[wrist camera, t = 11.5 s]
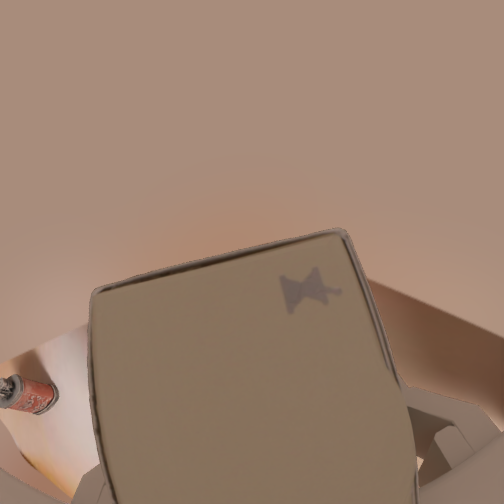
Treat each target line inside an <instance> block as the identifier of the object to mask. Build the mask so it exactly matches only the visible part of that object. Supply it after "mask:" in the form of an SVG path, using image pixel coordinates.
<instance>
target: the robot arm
mask: <svg viewBox="0 0 504 504" xmlns="http://www.w3.org/2000/svg"><path fill="white" fill-rule="evenodd" d="M398 376H399V374H398ZM399 380H400V383H401V387H402V390H403V394H404V398H405V401H406V405H407V409H408V413H409V416H410V420H411V424H412V429H413V436H414V442H415V449H416V456H418V457H420V458H422V459H424V461H423V463H422V465H421V467H420V469H419V471H418V484H419V487H420V488H419V491H420V504H504V431H503V432H501V431H500V430H499V429H498V428H497V426H496V425H495V424H494V423H493V422H492V420H491V419H490V418H489V417H488V416H487V415H486V413H485V412H484V411H483V410H482V409H481V408H480V406H479V405H476V404H472V403H468V402H464V401H460V400H457V399H453V398H450V397H446V396H443V395H439V394H436V393H433V392H429V391H426V390H423V389H420V388H417V387H414V386H413V387H411V388H408V386H407V385H406V384H405V382H404V381H403V379H402V378H401V377H400V376H399ZM0 504H68V503H66V502H64V501H61V500H59V499H57V498H54V497H52V496H50V495H48V494H46V493H44V492H42V491H40V490H38V489H36V488H34V487H32V486H30V485H29V484H27V483H25V482H23V481H21V480H20V479H18V478H16V477H15V476H13V475H11V474H10V473H8V472H6V471H5V470H3V469H2V468H0ZM71 504H112V502H111V499H110V496H109V493H108V490H107V486H106V483H105V479H104V476H103V472H102V469H101V465H100V464H99V465H97V466H96V467H94V468H93V469H92V470H90V471H89V472H87V473H86V474H84V475H83V477H82V479H81V481H80V483H79V486H78V488H77V490H76V492H75V495H74V497H73V499H72V502H71Z"/></svg>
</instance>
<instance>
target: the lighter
mask: <svg viewBox="0 0 504 504" xmlns="http://www.w3.org/2000/svg"><path fill="white" fill-rule="evenodd" d="M58 399H59V391H58V389H57V387H56V386H55V385H52V384H47V385H46V384H43V383H39V382H35V381H31V380H28V379H24V378H22V377H21V376H19V375H16V374H14V375H12V376H10V377H9V378H7V379H5V378H2V377H1V378H0V408H4V409H6V408H10V409H15V410H20V411H25V412H31V413H33V414H36V415H40V414H43V413H45V412H47V411H49V410H50V409H51V408H52V407H53V406H54V405H55V404H56V402H57V401H58Z"/></svg>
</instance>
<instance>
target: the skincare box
mask: <svg viewBox="0 0 504 504" xmlns="http://www.w3.org/2000/svg"><path fill="white" fill-rule="evenodd" d="M87 367H88V386H89V395H90V398H89V402H90V408H91V415H92V423H93V430H94V435H95V440H96V445H97V450H98V456H99V460H100V465H101V469H102V472H103V476H104V479H105V483H106V486H107V490H108V493H109V496H110V499H111V502H112V504H420V491H419V484H418V467H417V457H416V449H415V442H414V436H413V429H412V424H411V420H410V416H409V413H408V409H407V405H406V401H405V398H404V394H403V390H402V387H401V383H400V380H399V376H398V373H397V369H396V365H395V362H394V358H393V354H392V351H391V347H390V344H389V340H388V337H387V334H386V330H385V327H384V325H383V322H382V319H381V316H380V313H379V311H378V308H377V305H376V302H375V299H374V296H373V293H372V291H371V288H370V285H369V283H368V280H367V278H366V275H365V273H364V270H363V268H362V266H361V263H360V261H359V258H358V256H357V254H356V251H355V249H354V246H353V243H352V240H351V238H350V236H349V235H348V233H347V231H346V230H344V229H341V228H333V229H328V230H324V231H319V232H315V233H312V234H308V235H304V236H300V237H295V238H289V239H284V240H279V241H275V242H271V243H268V244H264V245H259V246H254V247H249V248H245V249H240V250H236V251H232V252H229V253H224V254H221V255H218V256H212V257H207V258H204V259H199V260H195V261H190V262H186V263H182V264H179V265H174V266H171V267H167V268H163V269H159V270H155V271H151V272H148V273H145V274H141V275H136V276H134V277H131V278H128V279H126V280H123V281H119V282H116V283H112V284H108V285H104V286H101V287H98V288H96V289H94V291H93V292H92V294H91V299H90V305H89V323H88V356H87Z"/></svg>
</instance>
